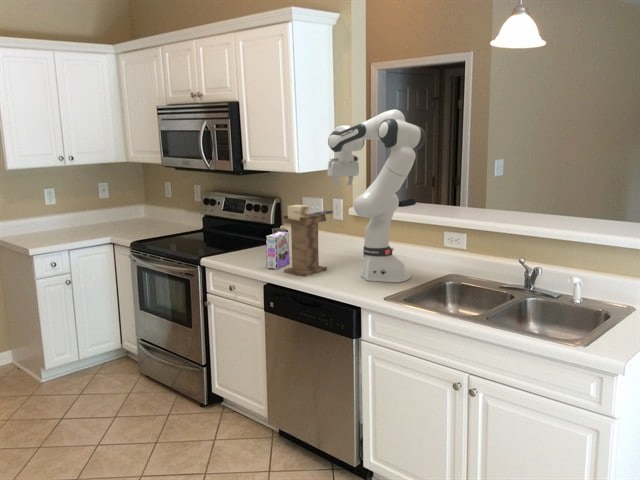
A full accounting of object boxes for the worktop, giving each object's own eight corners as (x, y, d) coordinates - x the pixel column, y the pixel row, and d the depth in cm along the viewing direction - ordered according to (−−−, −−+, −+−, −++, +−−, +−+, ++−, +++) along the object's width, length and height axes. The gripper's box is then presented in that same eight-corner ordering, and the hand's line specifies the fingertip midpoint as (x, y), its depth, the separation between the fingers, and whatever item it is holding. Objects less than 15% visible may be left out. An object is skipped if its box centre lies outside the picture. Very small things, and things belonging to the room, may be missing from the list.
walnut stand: (307, 266, 293) (306, 211, 288) (326, 270, 285) (325, 213, 279) (284, 272, 282) (282, 215, 276) (303, 276, 273) (302, 217, 268)
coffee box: (289, 260, 307) (288, 229, 304) (277, 261, 305) (276, 230, 302) (284, 256, 316) (283, 227, 313) (272, 258, 313) (271, 228, 310)
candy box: (276, 269, 287) (275, 236, 284) (266, 268, 289) (265, 235, 286) (290, 263, 299) (289, 231, 296) (279, 262, 302) (278, 231, 299)
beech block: (325, 212, 295) (324, 200, 293) (337, 213, 289) (337, 201, 288) (287, 218, 276) (287, 206, 275) (300, 220, 270) (299, 207, 269)
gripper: (333, 158, 288) (334, 186, 290) (360, 157, 302) (361, 184, 304) (324, 158, 292) (324, 186, 294) (351, 157, 307) (352, 184, 309)
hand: (343, 185), depth 299 cm, fingers open, 8 cm apart
